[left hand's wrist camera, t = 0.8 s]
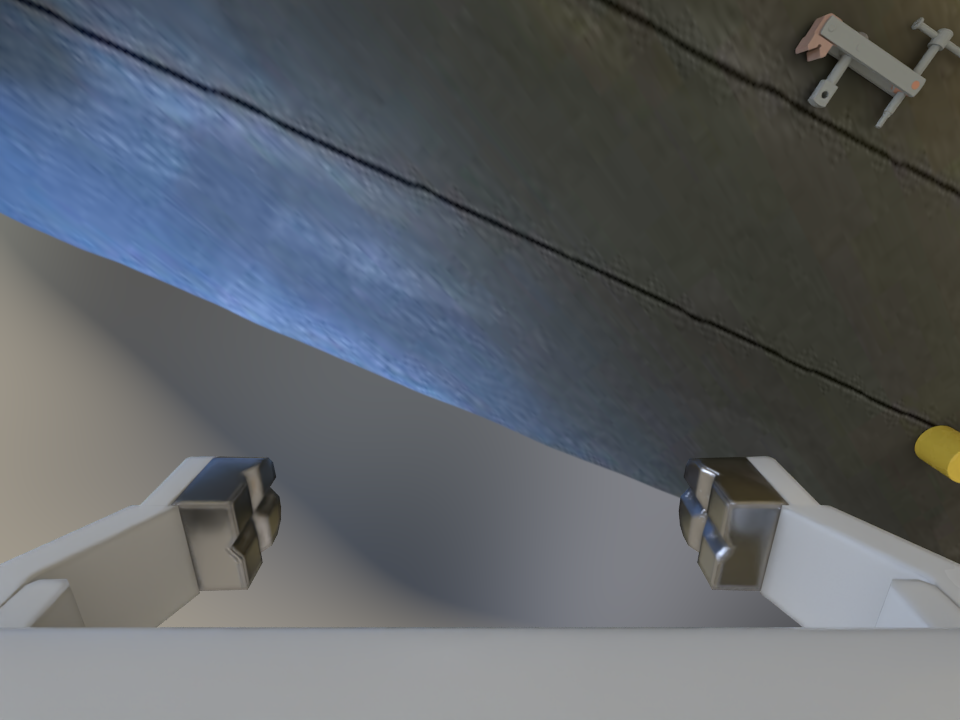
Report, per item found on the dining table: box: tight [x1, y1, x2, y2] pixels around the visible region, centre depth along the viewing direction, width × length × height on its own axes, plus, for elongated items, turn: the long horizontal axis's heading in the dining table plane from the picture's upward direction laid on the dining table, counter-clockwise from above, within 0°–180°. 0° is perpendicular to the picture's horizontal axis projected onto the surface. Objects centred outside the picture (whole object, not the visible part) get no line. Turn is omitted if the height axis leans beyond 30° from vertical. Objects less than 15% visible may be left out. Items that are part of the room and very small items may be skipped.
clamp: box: [795, 13, 960, 128], centre depth 48 cm, size 15×2×10 cm
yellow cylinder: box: [915, 426, 960, 483], centre depth 61 cm, size 5×5×5 cm
